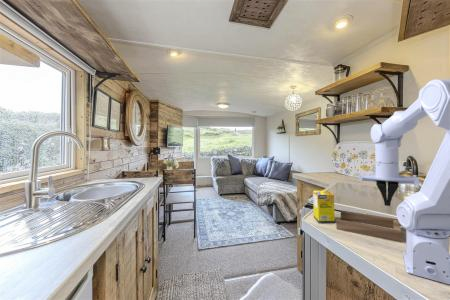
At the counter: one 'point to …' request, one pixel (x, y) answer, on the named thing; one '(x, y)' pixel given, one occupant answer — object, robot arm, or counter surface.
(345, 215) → the brown wooden tray
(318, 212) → the supplement box
